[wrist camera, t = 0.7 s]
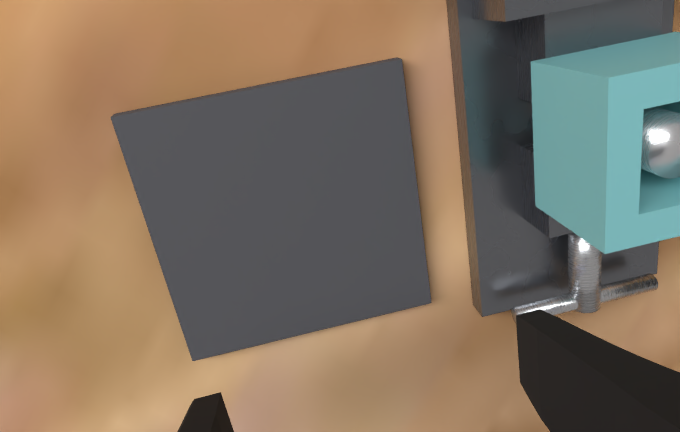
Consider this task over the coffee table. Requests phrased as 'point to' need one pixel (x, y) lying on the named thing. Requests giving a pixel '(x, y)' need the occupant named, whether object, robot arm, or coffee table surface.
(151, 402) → the coffee table surface
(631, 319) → the coffee table surface
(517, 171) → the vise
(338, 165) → the mat
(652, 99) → the collar
